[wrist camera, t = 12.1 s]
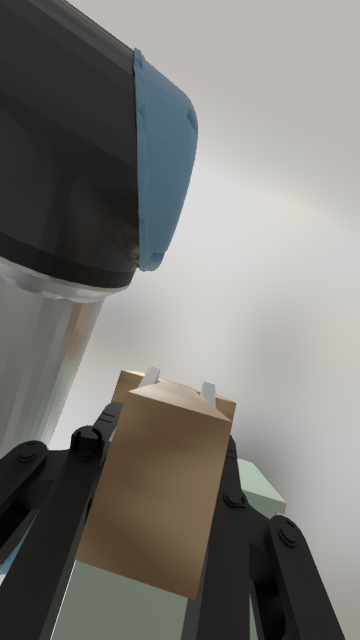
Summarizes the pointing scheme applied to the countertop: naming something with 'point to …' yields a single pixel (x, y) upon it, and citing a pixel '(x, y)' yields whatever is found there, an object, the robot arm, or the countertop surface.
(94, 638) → the sage green shelf box
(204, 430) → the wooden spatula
